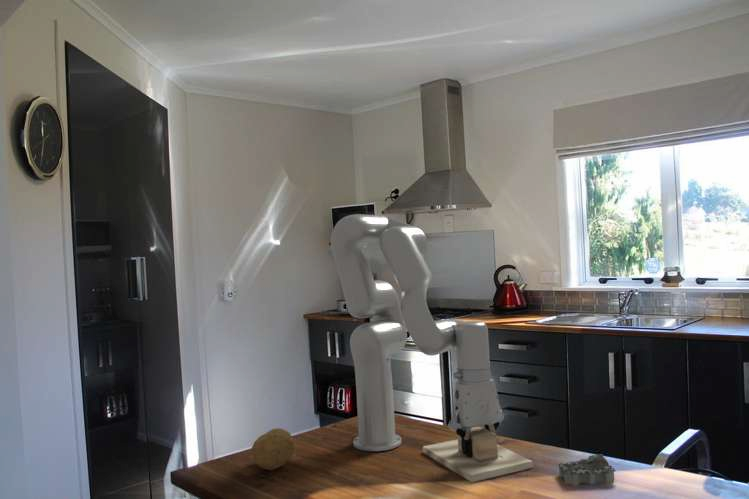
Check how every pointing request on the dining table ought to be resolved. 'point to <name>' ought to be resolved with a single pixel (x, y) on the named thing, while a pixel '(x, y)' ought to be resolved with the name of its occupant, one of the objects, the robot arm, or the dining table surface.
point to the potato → (273, 449)
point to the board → (473, 469)
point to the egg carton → (587, 471)
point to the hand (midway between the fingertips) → (478, 452)
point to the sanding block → (481, 444)
